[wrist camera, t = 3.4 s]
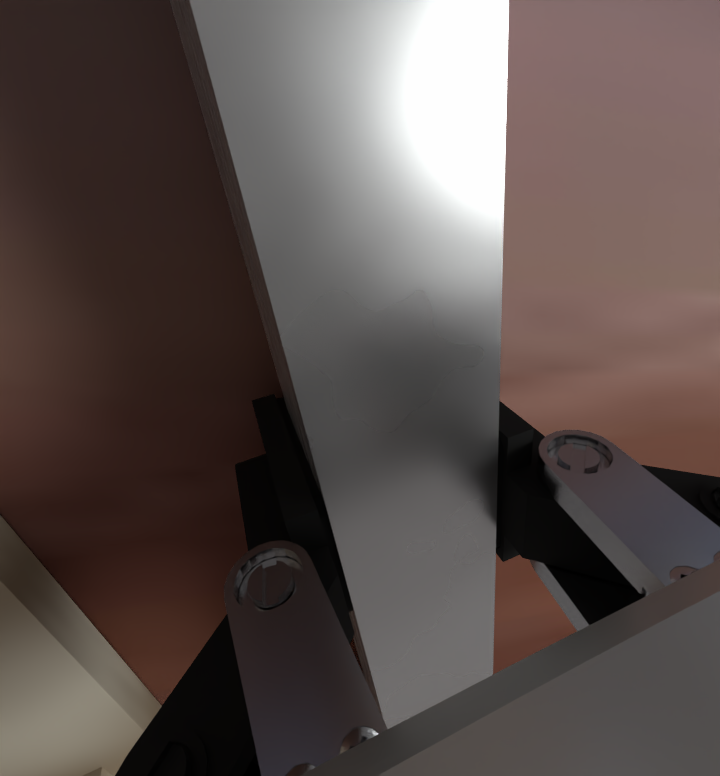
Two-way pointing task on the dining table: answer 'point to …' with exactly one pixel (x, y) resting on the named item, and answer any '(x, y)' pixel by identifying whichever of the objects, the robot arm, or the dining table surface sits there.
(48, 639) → the hanger stand
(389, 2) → the steel bar
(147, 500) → the dining table surface
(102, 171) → the dining table surface
